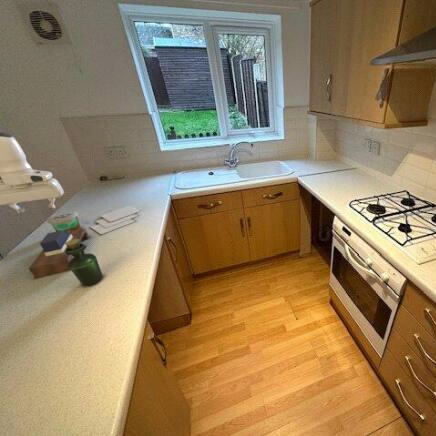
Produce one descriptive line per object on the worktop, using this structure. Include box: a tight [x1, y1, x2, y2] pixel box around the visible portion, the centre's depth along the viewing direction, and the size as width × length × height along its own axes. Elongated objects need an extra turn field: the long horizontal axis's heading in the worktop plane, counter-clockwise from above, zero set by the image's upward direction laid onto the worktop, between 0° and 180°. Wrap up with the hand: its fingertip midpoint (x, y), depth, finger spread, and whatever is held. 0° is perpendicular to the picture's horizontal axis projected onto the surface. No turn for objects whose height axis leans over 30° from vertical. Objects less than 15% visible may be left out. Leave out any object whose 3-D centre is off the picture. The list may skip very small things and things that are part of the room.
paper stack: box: [90, 205, 141, 235], centre depth 137 cm, size 23×25×1 cm
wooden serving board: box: [28, 228, 90, 279], centre depth 106 cm, size 12×28×5 cm, turn 26°
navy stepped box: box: [39, 230, 73, 256], centre depth 104 cm, size 14×6×6 cm, turn 26°
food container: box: [46, 210, 82, 232], centre depth 122 cm, size 12×6×10 cm, turn 129°
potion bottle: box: [65, 239, 104, 287], centre depth 88 cm, size 8×8×18 cm
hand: (37, 210), depth 96 cm, fingers open, 8 cm apart
